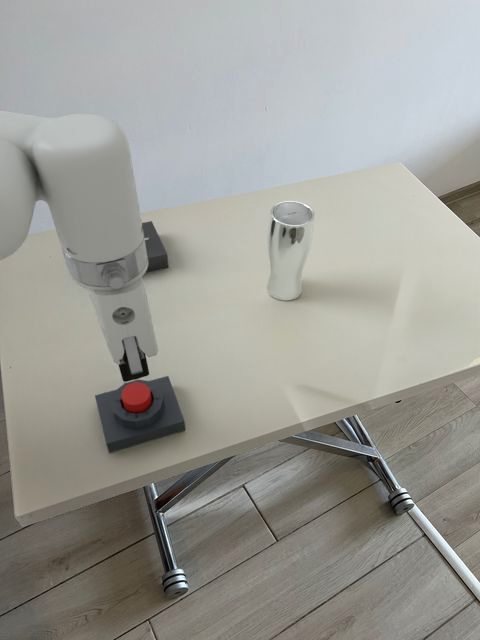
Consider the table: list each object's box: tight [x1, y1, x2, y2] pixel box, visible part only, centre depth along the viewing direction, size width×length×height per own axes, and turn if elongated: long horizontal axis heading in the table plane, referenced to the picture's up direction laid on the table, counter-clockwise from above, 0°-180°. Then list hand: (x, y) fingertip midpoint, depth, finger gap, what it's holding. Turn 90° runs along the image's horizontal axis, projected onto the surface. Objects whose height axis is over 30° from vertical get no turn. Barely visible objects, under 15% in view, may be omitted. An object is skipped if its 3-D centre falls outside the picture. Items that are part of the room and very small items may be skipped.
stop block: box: [94, 375, 186, 454], centre depth 70 cm, size 10×8×4 cm
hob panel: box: [142, 220, 170, 274], centre depth 92 cm, size 13×10×3 cm
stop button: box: [121, 383, 152, 413], centre depth 68 cm, size 4×4×2 cm
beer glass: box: [266, 200, 315, 302], centre depth 84 cm, size 7×7×15 cm
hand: (135, 373), depth 64 cm, fingers closed
